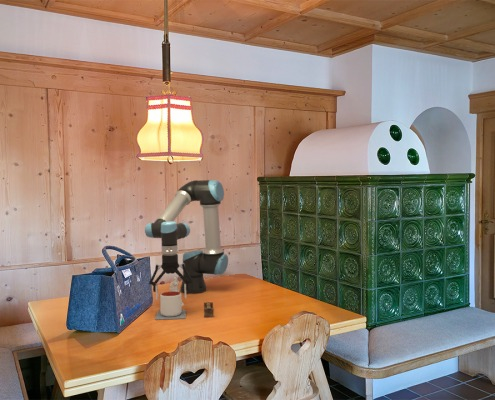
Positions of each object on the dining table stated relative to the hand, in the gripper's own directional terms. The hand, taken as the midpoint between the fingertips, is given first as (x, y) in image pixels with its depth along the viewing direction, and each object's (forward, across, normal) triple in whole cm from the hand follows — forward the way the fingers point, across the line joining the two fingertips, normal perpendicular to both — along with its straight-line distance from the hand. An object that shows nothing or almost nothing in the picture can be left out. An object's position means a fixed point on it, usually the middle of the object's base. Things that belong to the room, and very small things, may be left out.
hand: (171, 297), depth 230 cm
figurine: (+9, +1, +19) cm, 21 cm away
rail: (+8, +18, -1) cm, 20 cm away
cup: (+8, 0, -1) cm, 8 cm away
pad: (+8, 0, -1) cm, 8 cm away
